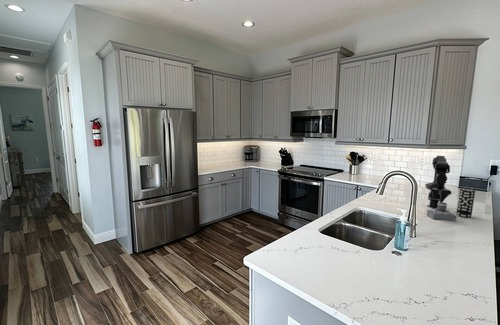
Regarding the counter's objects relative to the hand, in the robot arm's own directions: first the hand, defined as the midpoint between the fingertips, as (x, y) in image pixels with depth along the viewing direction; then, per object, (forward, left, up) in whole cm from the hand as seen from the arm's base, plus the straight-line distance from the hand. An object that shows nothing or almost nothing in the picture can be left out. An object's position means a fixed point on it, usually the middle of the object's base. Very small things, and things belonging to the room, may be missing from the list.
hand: (437, 200), depth 176 cm
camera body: (+5, +1, -12) cm, 13 cm away
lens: (+5, +1, -8) cm, 9 cm away
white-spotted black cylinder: (-3, +20, -12) cm, 23 cm away
